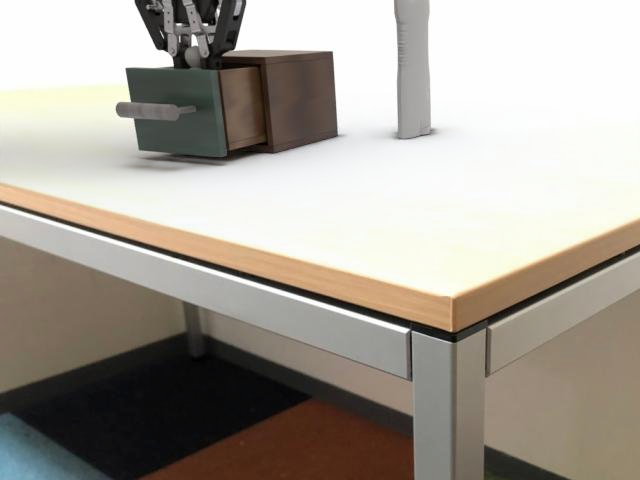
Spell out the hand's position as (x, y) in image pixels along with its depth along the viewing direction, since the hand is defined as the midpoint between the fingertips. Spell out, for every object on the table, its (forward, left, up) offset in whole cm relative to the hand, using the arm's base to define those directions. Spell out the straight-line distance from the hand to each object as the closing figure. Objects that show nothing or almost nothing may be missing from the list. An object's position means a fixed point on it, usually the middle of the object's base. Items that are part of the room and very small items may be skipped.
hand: (200, 91), depth 84 cm
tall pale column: (+15, +24, -7) cm, 29 cm away
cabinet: (0, +11, -7) cm, 13 cm away
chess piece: (0, 0, -3) cm, 3 cm away
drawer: (0, 0, -6) cm, 6 cm away
